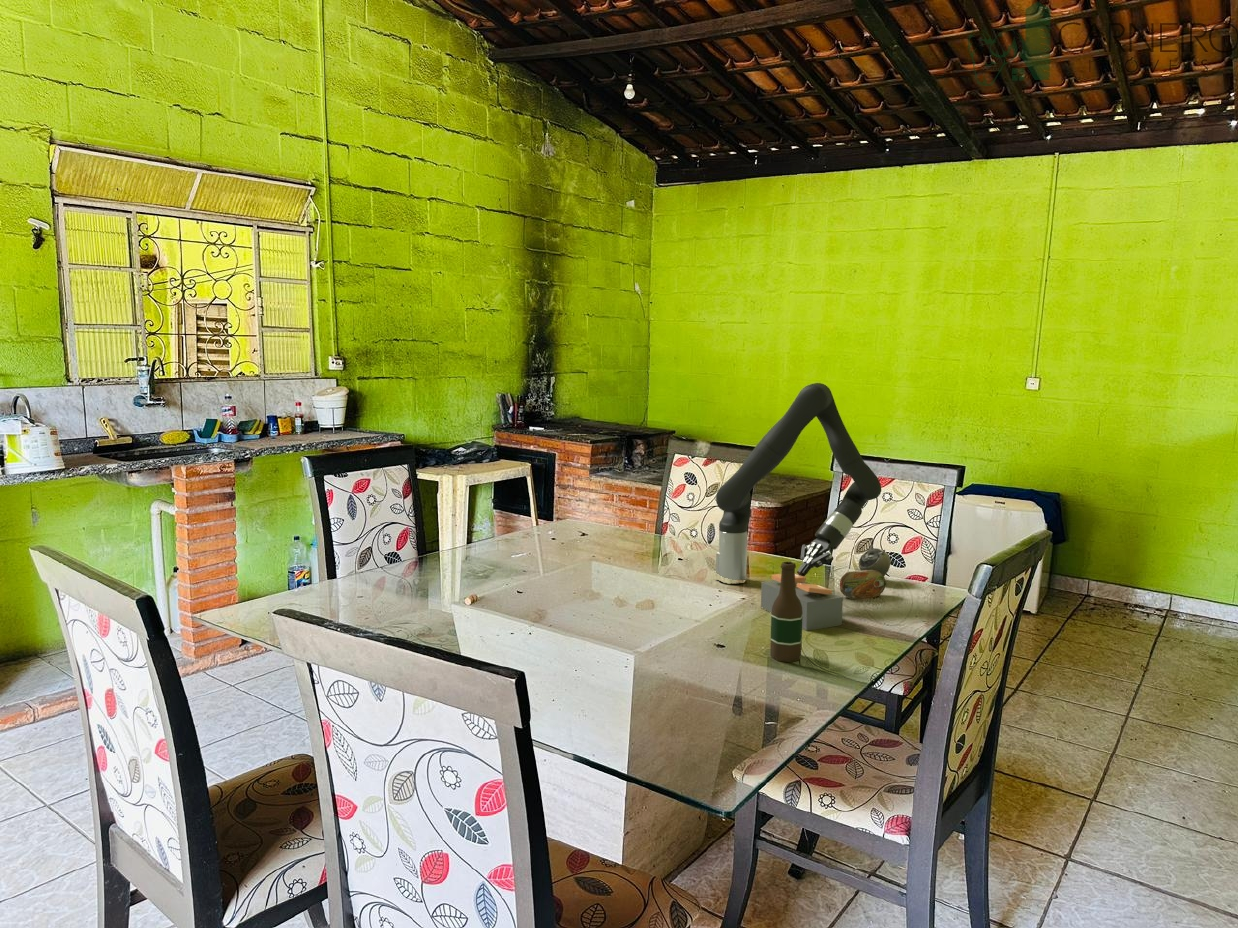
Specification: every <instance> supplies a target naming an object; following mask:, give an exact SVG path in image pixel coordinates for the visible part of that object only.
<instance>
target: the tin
mask: <svg viewBox="0 0 1238 928" xmlns="http://www.w3.org/2000/svg"><path fill="white" fill-rule="evenodd" d="M886 582H887V581H886V578H885V576H883V574H882V573H881V572H879V571H875V570H864V571H860V570H855V571H848V572H846V573H845V574H843V575H842V576H841V578H840V581H839V590H840V592H841V594H842V596H845V597H846V598H848V599H850V600H859V599H870V598H876V597H879V596H881V594H883V592H884V590H885V587H886V585H887V583H886Z"/></svg>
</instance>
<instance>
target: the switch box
mask: <svg viewBox="0 0 1238 928" xmlns="http://www.w3.org/2000/svg"><path fill="white" fill-rule="evenodd" d="M797 583H804V584H811V583H809V582H807V581H804V582H795V590H796V595H797V597H798V598H799V600H800V602H801V605H802V612H803V617H802V630H804V631H806V632H807V631H808V632H809V631H814V630H819V629H826V628H827V629H828V628H832V627H837V626H842V625H843V602H844V597H843V596H841V595H838V594H836V593H834V592H832V594H831V595H830V594H821V593H812V592H807V591H805V590H802V589H800V588H798V587H796V586H797ZM780 584H781V583H780V582H778V581H776V580H774V579H772V580H765V581H761V586H760V589H761V591H760V592H761V593H760V608H761V607H763V608H764V609H766V610H767V611H766V610H765V611H766V612H768V611H769V612H768V613H770V612H771V613H772V606H773V604H774V601H775V599H776V598H777V597H778V595H779V591H780ZM764 609H763V610H764ZM771 613H770V614H771Z"/></svg>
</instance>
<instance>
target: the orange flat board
mask: <svg viewBox="0 0 1238 928" xmlns="http://www.w3.org/2000/svg"><path fill="white" fill-rule="evenodd" d="M796 587H798V588H800V589H802V590H805V591H807V592H812V593H821V594H830V595H831V594H832V593H833V590H832V589H830V588H828V587H825V586H822V585H819V584H812V583H810V584H804V583H797V586H796Z"/></svg>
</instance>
